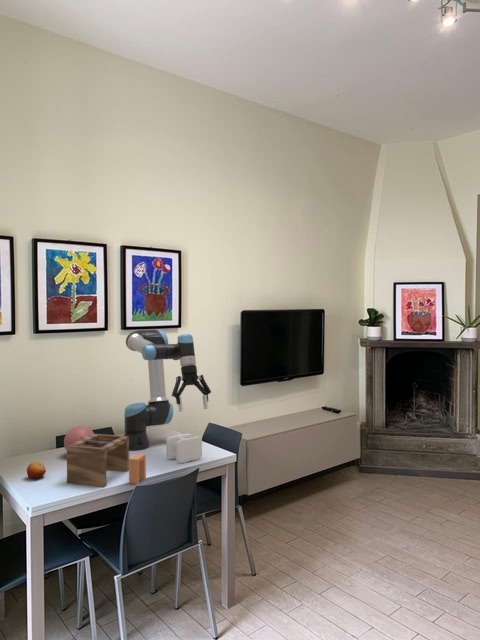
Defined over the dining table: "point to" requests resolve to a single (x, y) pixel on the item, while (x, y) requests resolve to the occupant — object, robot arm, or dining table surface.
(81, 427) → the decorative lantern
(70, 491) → the dining table surface
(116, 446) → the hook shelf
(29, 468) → the fruit
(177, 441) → the cable organizer
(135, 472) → the orange arch block
